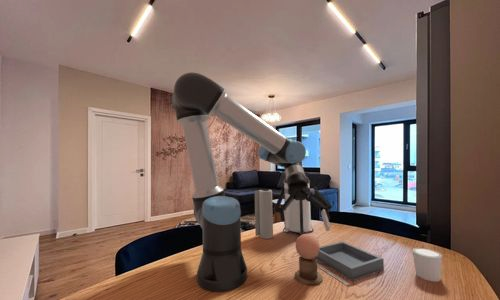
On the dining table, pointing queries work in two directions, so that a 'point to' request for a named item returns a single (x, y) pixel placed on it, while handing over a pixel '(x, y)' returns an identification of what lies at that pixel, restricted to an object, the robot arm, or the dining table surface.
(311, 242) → the ball
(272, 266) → the dining table surface
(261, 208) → the gray grooved column
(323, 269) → the line
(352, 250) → the tray
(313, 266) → the tee
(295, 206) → the coffee press
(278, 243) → the dining table surface
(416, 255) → the white short cylinder
